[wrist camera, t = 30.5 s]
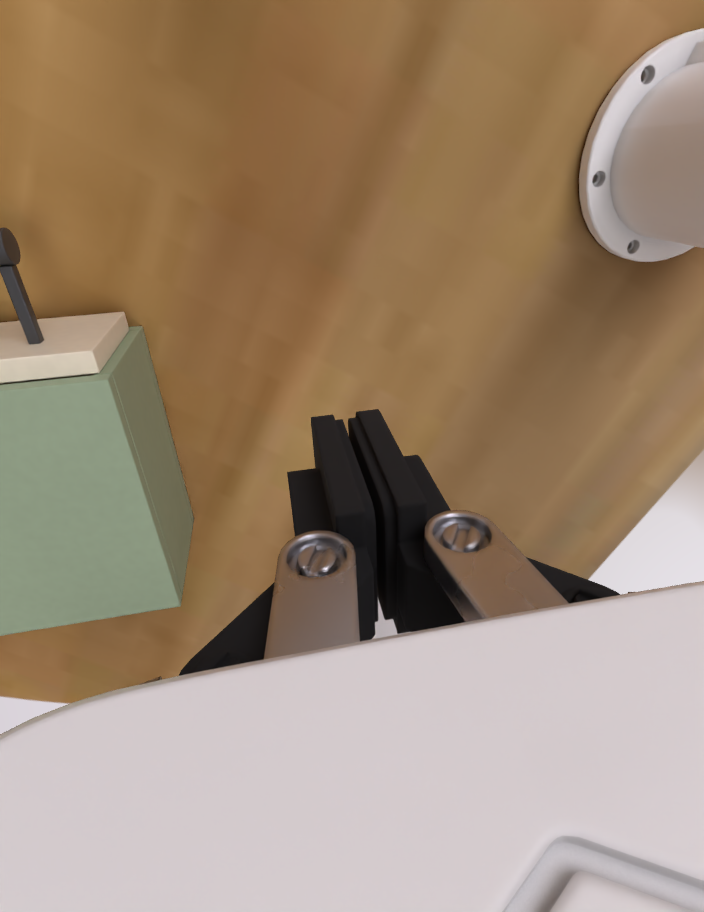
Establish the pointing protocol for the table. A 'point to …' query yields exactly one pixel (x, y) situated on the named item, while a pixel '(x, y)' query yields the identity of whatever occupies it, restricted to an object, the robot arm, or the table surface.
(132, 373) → the cabinet
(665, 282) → the table surface
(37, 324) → the drawer
